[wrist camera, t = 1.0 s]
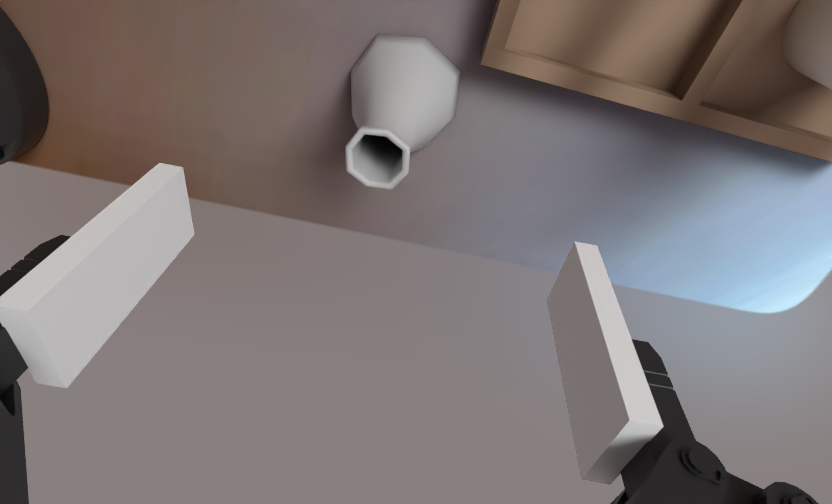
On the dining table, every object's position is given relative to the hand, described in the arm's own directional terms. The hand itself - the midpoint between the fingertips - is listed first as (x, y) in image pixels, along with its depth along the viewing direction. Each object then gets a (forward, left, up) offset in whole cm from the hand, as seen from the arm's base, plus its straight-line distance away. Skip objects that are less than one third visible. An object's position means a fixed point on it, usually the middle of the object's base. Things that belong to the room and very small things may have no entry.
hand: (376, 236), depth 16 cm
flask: (-1, -1, -17) cm, 17 cm away
